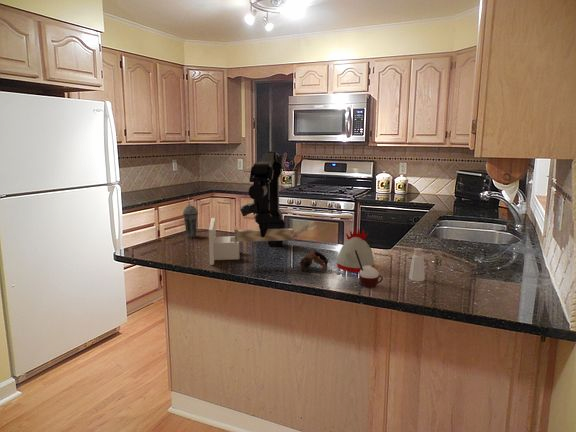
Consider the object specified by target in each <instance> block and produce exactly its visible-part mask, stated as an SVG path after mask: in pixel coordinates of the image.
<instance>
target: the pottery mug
mask: <svg viewBox="0 0 576 432" xmlns="http://www.w3.org/2000/svg"><path fill="white" fill-rule="evenodd" d="M312 263H316V264H319V265H320V266H321V267H322V269H321V270H320V271H321V273H322V274H324V273H325V272H326V270H327V269H328V263H329V259H328V258H327V257H326V256H325V255H324V254H322V253H321V252H318V251H316V250H312V251H311V252H310V253H307V254H306V255H305V256H304V257H303V258H302V259H301V260H300V262H299V264H300V268H299V269H300V271H301V272H308V271H309V268H310V266H311V265H312Z"/></svg>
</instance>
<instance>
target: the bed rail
mask: <svg viewBox="0 0 576 432" xmlns="http://www.w3.org/2000/svg"><path fill="white" fill-rule="evenodd" d="M233 233H234V236H235V243H237V242H239V243H241V242H267V241H279V240H283V241H294V240H295V239H294V238H295V236H294V235H295V234H294V229H293V228H286V229H267V232H266V234H265V236H264V237H261V233H260V229H259V228H258V229H256V228H255V229H254V228H253V229H252V228H251V229H238V228H237V226H234V231H233Z"/></svg>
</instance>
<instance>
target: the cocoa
mask: <svg viewBox="0 0 576 432" xmlns="http://www.w3.org/2000/svg"><path fill="white" fill-rule="evenodd" d="M355 253H356V256H357V259H358V262H359V265H360V268H361V270H360V272H359V282H360V284H361V285H362V286H363V287H365V288H374V287H375V286H376V285H378V284H380V283H382V281H383V275H379V274H380V272H379V271H378V270H377V268H375V267H374V268H373V267H371V266H363V267H362V265H361V262H360V259H359V256H358V253H357V251H356V250H355ZM379 278H380V279H379Z"/></svg>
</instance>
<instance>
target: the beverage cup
mask: <svg viewBox="0 0 576 432" xmlns="http://www.w3.org/2000/svg"><path fill="white" fill-rule="evenodd" d="M187 201H188V205H186V207H184V209H183V212H182V214H183V215H182V216H183V218H184V226H185V227H184V228H185V233H186V238H196V237H197V227H198V225H197V224H198V215H199V212H198V209H197V208H196V207H195V206H194V205H191V204H190V197H189V196H188V197H187Z"/></svg>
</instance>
